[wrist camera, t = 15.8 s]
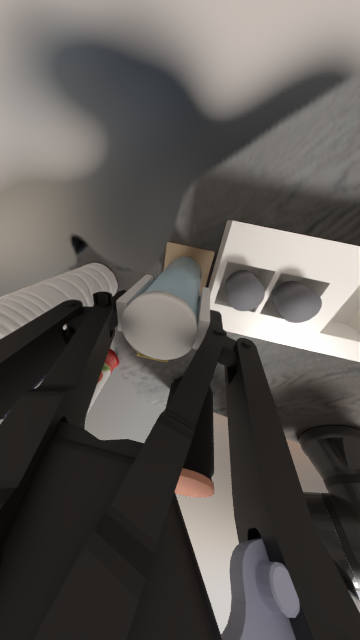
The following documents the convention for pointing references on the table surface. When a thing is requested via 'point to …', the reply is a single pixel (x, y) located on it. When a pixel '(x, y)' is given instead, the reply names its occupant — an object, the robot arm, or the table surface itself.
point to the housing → (292, 265)
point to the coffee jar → (198, 453)
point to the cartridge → (166, 312)
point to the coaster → (199, 255)
